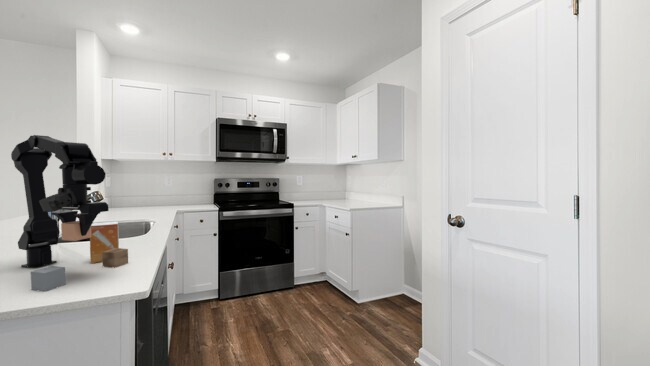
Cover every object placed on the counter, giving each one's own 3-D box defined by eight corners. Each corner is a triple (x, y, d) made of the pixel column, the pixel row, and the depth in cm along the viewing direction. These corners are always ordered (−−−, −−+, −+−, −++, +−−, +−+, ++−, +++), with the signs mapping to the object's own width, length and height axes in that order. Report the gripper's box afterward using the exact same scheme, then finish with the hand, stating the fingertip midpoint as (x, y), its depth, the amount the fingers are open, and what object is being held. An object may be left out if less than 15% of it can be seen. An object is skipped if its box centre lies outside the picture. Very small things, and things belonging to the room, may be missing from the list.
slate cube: (31, 290, 81) (30, 271, 80) (52, 283, 85) (51, 265, 85) (45, 291, 79) (44, 273, 79) (66, 284, 84) (65, 267, 84)
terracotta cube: (61, 240, 90) (61, 223, 90) (79, 236, 95) (78, 220, 95) (74, 240, 89) (74, 224, 89) (91, 237, 94) (90, 221, 94)
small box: (90, 263, 103) (89, 225, 102) (92, 259, 108) (90, 223, 108) (119, 259, 107) (118, 223, 107) (119, 255, 113) (118, 221, 112)
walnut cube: (102, 266, 100) (102, 251, 100) (116, 262, 105) (115, 248, 105) (115, 267, 99) (114, 252, 99) (128, 263, 104) (127, 248, 103)
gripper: (20, 185, 86) (22, 239, 87) (70, 185, 82) (73, 243, 82) (62, 183, 97) (64, 231, 97) (109, 183, 92) (110, 234, 93)
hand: (76, 235), depth 92 cm, fingers closed on terracotta cube, 5 cm apart
